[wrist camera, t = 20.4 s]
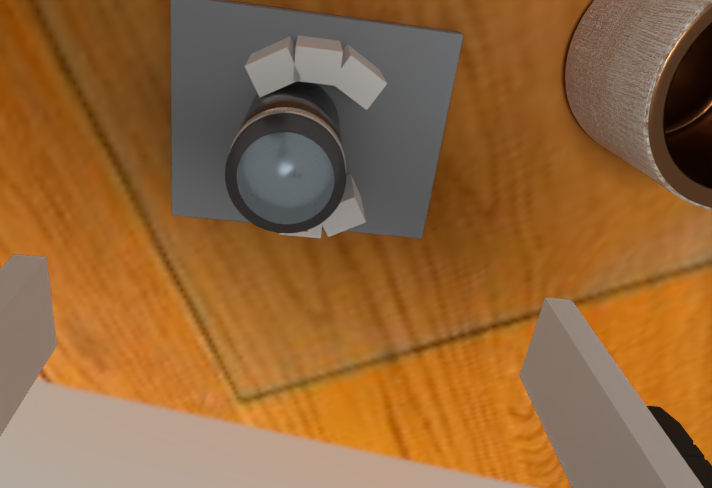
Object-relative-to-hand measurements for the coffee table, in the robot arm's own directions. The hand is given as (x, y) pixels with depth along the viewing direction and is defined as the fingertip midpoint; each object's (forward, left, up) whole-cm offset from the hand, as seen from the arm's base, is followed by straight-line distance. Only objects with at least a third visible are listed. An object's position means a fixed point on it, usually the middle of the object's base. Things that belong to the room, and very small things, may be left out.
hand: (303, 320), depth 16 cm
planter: (-6, +19, -20) cm, 29 cm away
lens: (0, -1, -19) cm, 19 cm away
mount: (0, 0, -20) cm, 20 cm away
